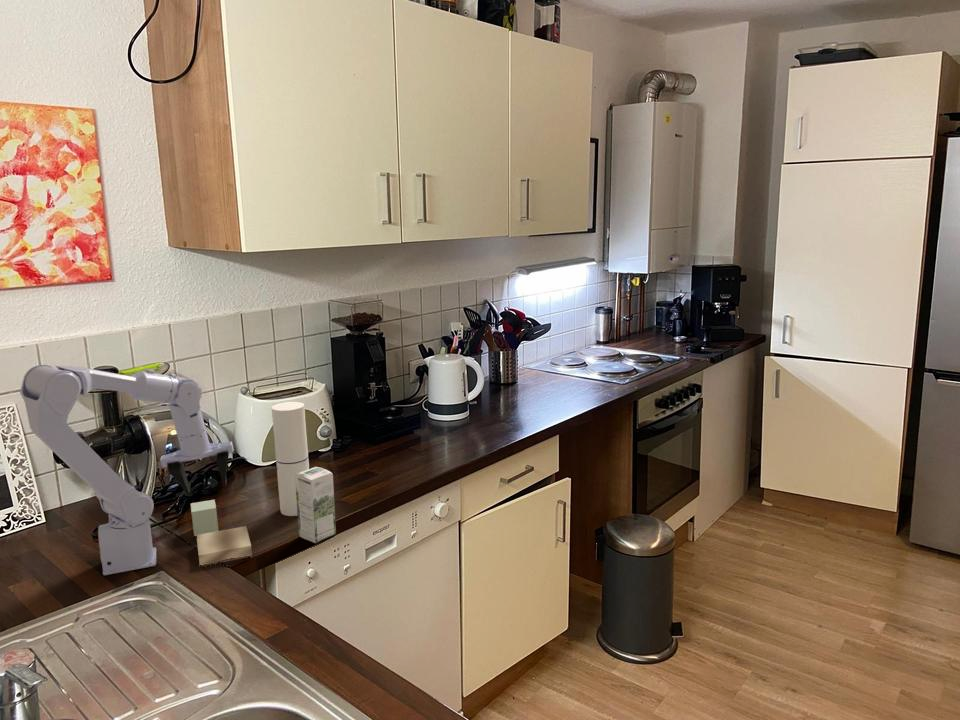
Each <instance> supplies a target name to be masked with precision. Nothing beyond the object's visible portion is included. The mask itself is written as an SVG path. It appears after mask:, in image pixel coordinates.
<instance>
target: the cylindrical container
mask: <svg viewBox="0 0 960 720" xmlns="http://www.w3.org/2000/svg"><path fill="white" fill-rule="evenodd" d="M271 417H272V425H273V426H272V429H273V438H274V439H273V440H274V452H275V461H276V463H275V464H276V475H277V485H278V486H277V487H278V497H279V498H278V499H279V508H280V510H279V511H280V513H281V514H282V515H283V516H287V517H295V516H296V517H298V515H297V501H296V486H295V474H297V473H300V472H303V471H306V470H308V469H310V462H309V461H310V460H309V448H308V439H307V438H308V437H307V425H306V424H307V423H306V411H305V403H304V402H300V401H286V402H279V403H277V404H273V405H272V406H271Z"/></svg>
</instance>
